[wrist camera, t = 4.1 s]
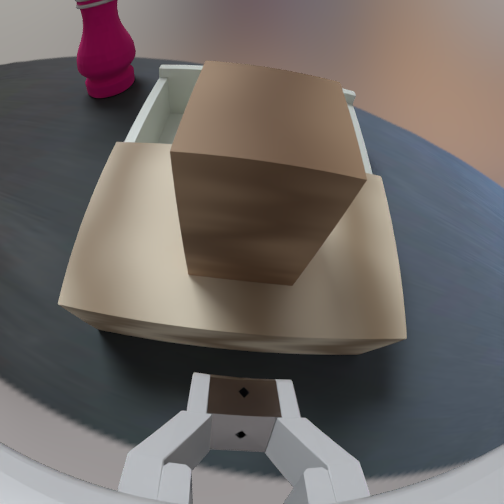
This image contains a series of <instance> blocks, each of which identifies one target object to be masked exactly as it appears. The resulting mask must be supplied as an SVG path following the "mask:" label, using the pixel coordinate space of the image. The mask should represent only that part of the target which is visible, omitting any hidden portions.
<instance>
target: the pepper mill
mask: <svg viewBox="0 0 504 504" xmlns="http://www.w3.org/2000/svg"><path fill="white" fill-rule="evenodd" d="M75 1H76V2H77V5H76V8H77V9H80V10H81V14H82V18H83V34H82V38H81V42H80V45H79V49H78V53H77V67H78V71H79V72H80V74H81V75H83V76H84V77H87V79H86V82H85V83H86V87H87V91H88V94H89V95H90V96H92V97H94V98H105V97H110V96H114V95H117V94H119V93H121V92H123V91H125V90H126V89H128V88H129V87H130V86H131V85H132V84H133V82H134V80H135V77H134V69H133V66H132V65H130V64H131V62H132V61H133V59H134V57H135V52H136V51H135V46H134V42H133V40H132V38H131V36H130V35H129V33H128V32H127V31H126V29H125V28H124V26H123V25H122V23H121V21H120V19H119V16H118V10H117V0H75Z"/></svg>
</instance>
